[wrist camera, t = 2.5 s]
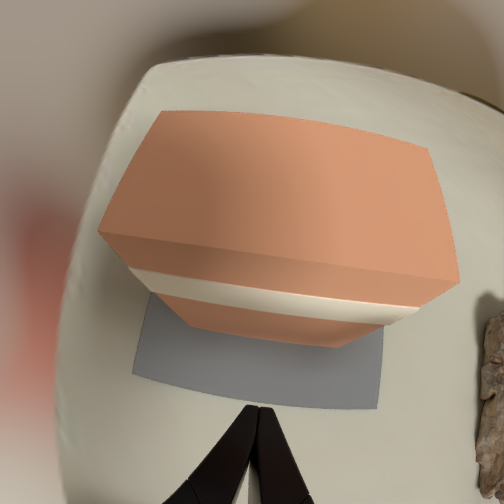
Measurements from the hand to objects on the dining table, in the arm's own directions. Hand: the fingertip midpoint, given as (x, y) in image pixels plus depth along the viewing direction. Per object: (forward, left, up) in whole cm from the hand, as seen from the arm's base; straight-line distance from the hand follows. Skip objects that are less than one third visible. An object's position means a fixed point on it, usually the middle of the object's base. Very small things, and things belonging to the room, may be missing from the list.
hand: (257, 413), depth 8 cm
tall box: (+6, +3, -8) cm, 10 cm away
